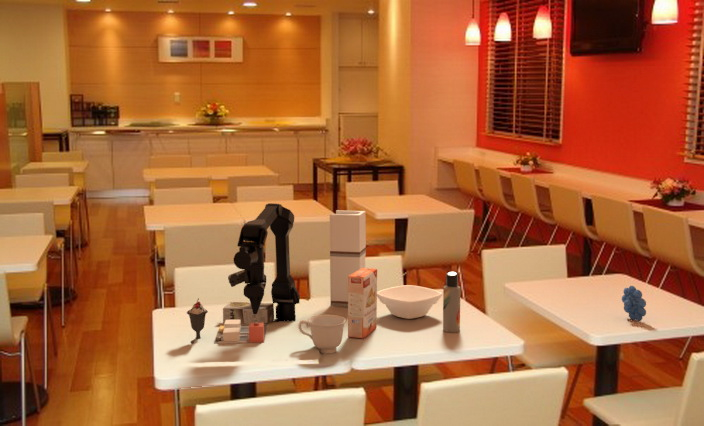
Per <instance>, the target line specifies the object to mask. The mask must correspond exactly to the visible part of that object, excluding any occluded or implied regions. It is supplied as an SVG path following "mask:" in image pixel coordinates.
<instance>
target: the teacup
mask: <svg viewBox="0 0 704 426" xmlns="http://www.w3.org/2000/svg"><path fill="white" fill-rule="evenodd" d="M346 322H347V319H346V318H345V317H344V316H341V315H338V314H319V315H314V316H311V317H310V318H308V319H307V320H306V319H302V320H300V321H299V323H298V330H299V332H300V333H301V334H303V335H306V336H307V337H309V338H310V339H311V341H312V344H313V345H314V346H315V347H316V348H318V349H319V353H320V354H333V353H335V352H337V348H338V347H339V346H340V345H341V343H342V341H343V332H344V327H345V323H346ZM303 324H305V325H306V328H310V333H311V334H310V333H309V332H307V331H305V330H304V329H303V328H302V325H303Z"/></svg>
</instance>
